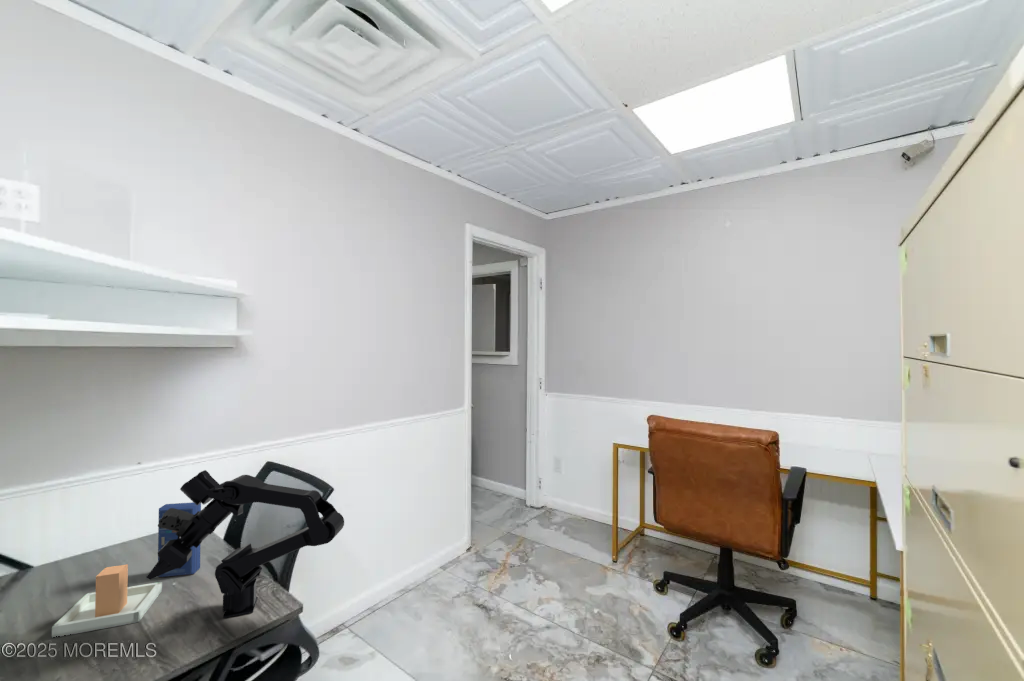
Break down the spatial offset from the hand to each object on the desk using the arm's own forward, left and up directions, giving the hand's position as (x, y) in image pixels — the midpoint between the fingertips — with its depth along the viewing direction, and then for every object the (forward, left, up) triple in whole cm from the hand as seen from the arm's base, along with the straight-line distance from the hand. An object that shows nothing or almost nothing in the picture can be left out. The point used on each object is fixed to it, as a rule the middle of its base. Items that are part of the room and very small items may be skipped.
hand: (156, 568), depth 104 cm
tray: (+12, -8, -13) cm, 19 cm away
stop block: (+12, -7, -12) cm, 18 cm away
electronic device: (+3, -24, -13) cm, 27 cm away
